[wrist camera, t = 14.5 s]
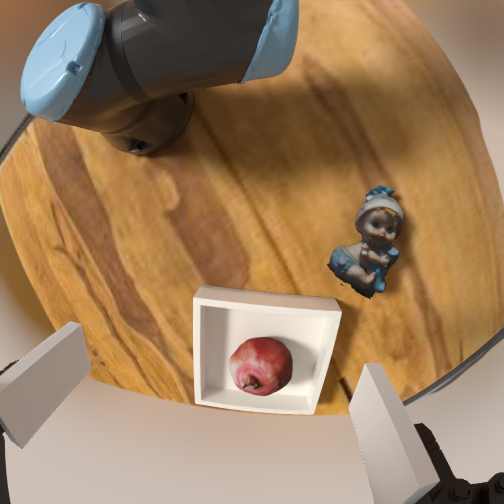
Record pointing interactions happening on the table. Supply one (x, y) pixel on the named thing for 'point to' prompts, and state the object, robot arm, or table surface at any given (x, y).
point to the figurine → (371, 244)
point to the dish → (262, 325)
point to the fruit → (261, 366)
